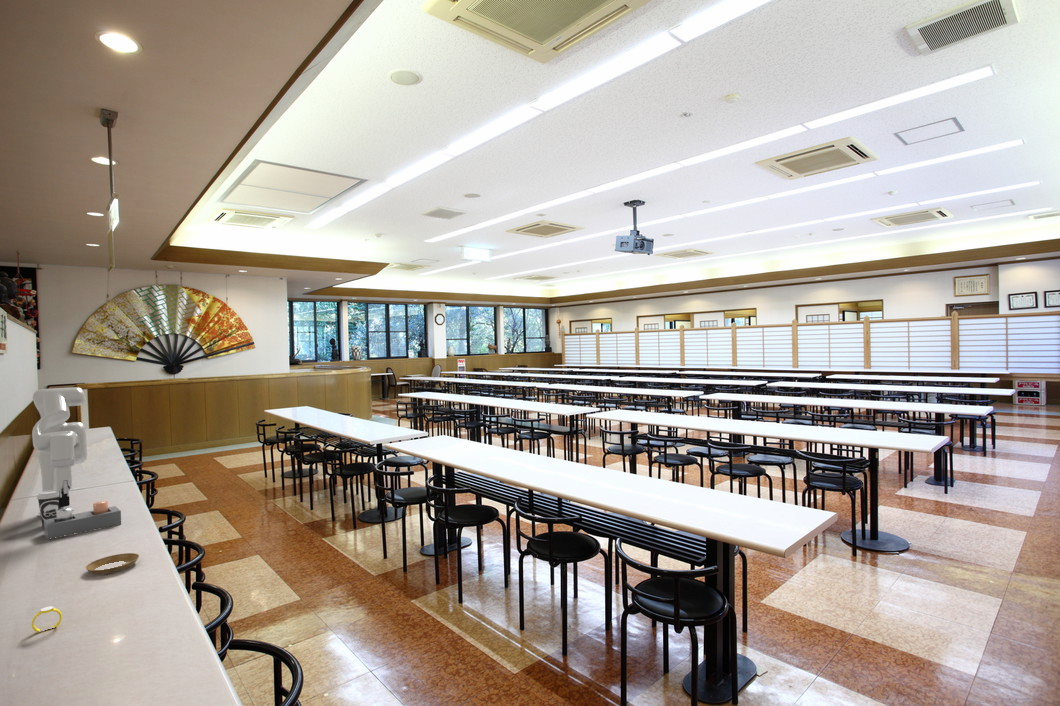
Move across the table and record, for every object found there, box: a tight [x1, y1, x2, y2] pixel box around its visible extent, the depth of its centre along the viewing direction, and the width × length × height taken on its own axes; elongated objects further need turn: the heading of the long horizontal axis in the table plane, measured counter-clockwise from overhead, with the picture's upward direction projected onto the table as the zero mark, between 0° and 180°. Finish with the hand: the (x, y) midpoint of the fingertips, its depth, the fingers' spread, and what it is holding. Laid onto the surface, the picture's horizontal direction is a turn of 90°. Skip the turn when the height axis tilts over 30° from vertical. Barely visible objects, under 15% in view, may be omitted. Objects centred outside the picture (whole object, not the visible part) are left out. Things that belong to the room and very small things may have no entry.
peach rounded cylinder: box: [92, 500, 109, 515], centre depth 230 cm, size 5×5×6 cm
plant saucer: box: [85, 552, 140, 576], centre depth 184 cm, size 15×15×3 cm
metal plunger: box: [56, 508, 73, 522], centre depth 221 cm, size 5×5×6 cm
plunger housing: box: [43, 505, 122, 540], centre depth 226 cm, size 11×24×6 cm, turn 139°
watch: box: [31, 605, 63, 633], centre depth 143 cm, size 6×3×6 cm, turn 130°
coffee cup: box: [36, 490, 63, 528], centre depth 232 cm, size 10×10×15 cm
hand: (64, 506), depth 221 cm, fingers closed
